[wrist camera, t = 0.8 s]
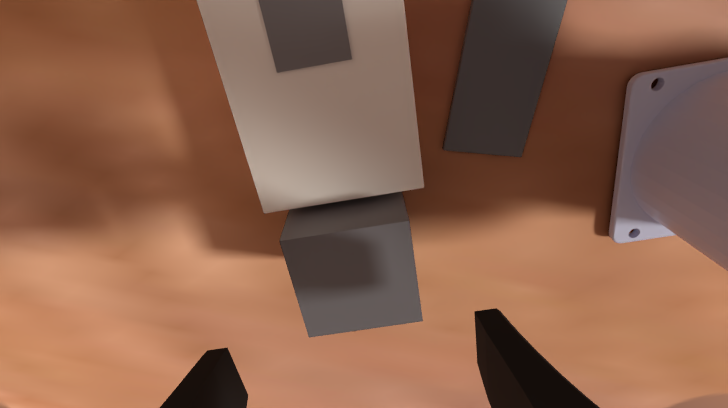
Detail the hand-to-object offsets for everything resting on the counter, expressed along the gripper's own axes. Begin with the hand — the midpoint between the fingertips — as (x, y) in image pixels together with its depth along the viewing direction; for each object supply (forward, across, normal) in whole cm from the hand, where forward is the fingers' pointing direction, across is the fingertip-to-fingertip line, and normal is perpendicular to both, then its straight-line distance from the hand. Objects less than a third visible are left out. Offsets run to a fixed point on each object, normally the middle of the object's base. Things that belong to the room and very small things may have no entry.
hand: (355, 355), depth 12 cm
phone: (+9, -7, -6) cm, 13 cm away
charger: (+8, 0, -1) cm, 8 cm away
